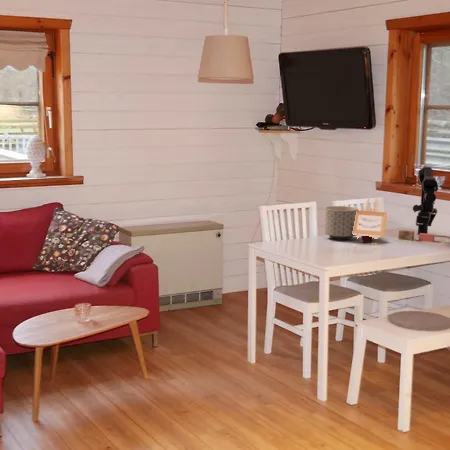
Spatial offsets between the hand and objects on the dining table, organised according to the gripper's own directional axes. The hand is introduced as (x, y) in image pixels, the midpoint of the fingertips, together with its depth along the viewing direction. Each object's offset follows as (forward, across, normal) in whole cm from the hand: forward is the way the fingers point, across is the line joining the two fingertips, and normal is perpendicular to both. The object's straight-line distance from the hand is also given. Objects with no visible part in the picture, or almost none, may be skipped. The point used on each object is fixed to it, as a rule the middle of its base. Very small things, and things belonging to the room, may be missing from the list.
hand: (427, 227), depth 435 cm
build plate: (+9, +3, -11) cm, 14 cm away
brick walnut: (+8, +3, -11) cm, 14 cm away
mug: (+9, +19, -28) cm, 35 cm away
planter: (+9, +17, -46) cm, 50 cm away
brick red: (+9, 0, 0) cm, 9 cm away
